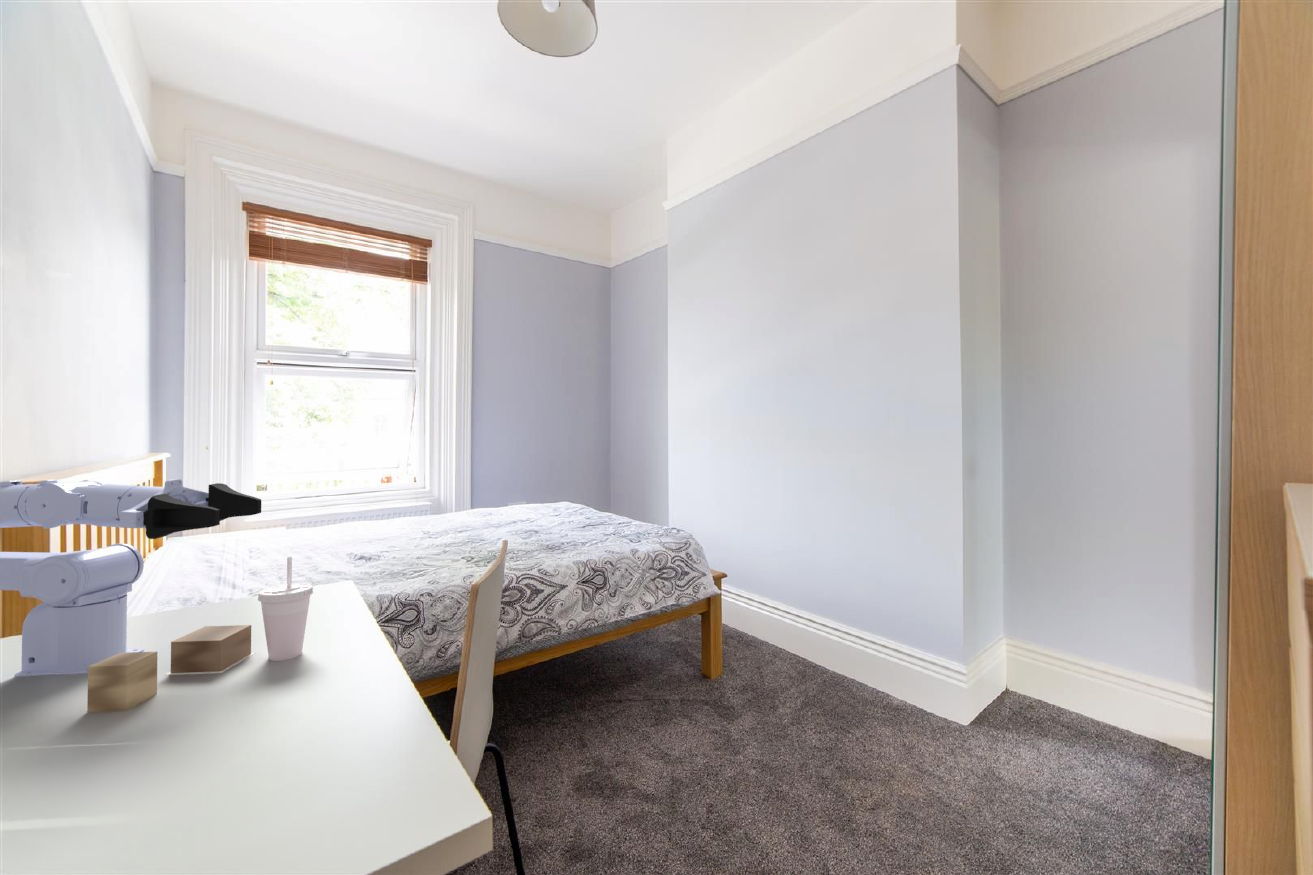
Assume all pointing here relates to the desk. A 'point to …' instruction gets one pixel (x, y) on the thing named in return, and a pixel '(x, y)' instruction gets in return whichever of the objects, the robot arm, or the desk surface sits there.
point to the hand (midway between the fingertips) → (239, 511)
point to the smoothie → (285, 617)
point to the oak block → (122, 681)
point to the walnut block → (210, 649)
